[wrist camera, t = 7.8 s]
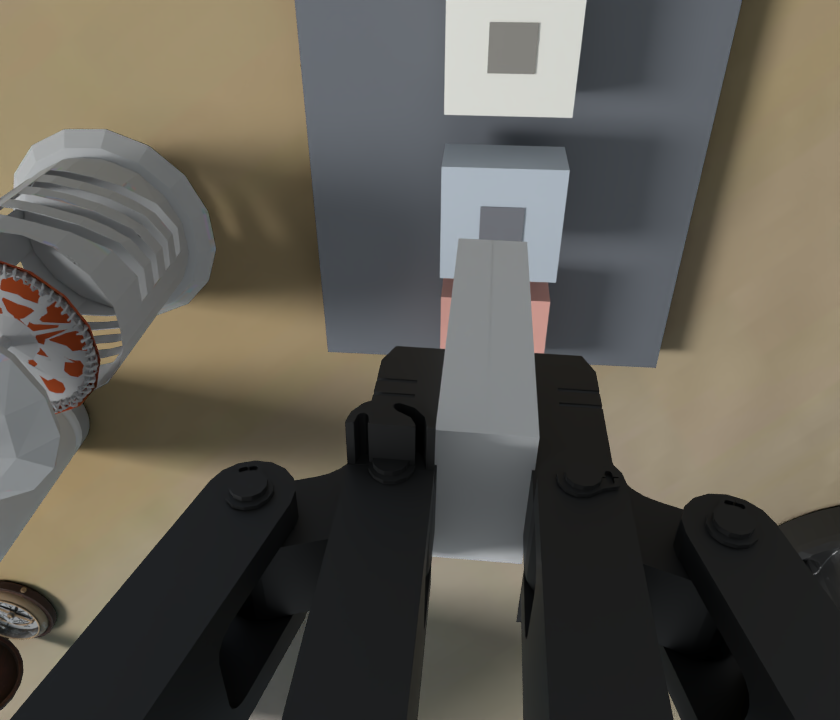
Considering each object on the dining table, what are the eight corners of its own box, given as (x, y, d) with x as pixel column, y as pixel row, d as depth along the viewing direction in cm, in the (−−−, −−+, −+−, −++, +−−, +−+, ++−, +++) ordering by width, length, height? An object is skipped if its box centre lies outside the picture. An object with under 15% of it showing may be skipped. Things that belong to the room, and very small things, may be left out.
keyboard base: (744, -69, 25) (757, -64, 24) (650, 349, 36) (655, 367, 35) (297, -71, 26) (288, -67, 25) (333, 335, 37) (328, 351, 36)
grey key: (561, 133, 28) (569, 171, 25) (549, 236, 31) (555, 283, 28) (447, 129, 29) (441, 167, 25) (445, 233, 31) (439, 278, 28)
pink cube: (545, 256, 33) (550, 302, 30) (535, 338, 35) (539, 388, 32) (446, 252, 33) (440, 297, 30) (444, 333, 36) (439, 383, 32)
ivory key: (578, -44, 26) (590, -27, 22) (563, 86, 28) (572, 118, 25) (452, -45, 26) (446, -28, 23) (450, 84, 29) (444, 115, 25)
